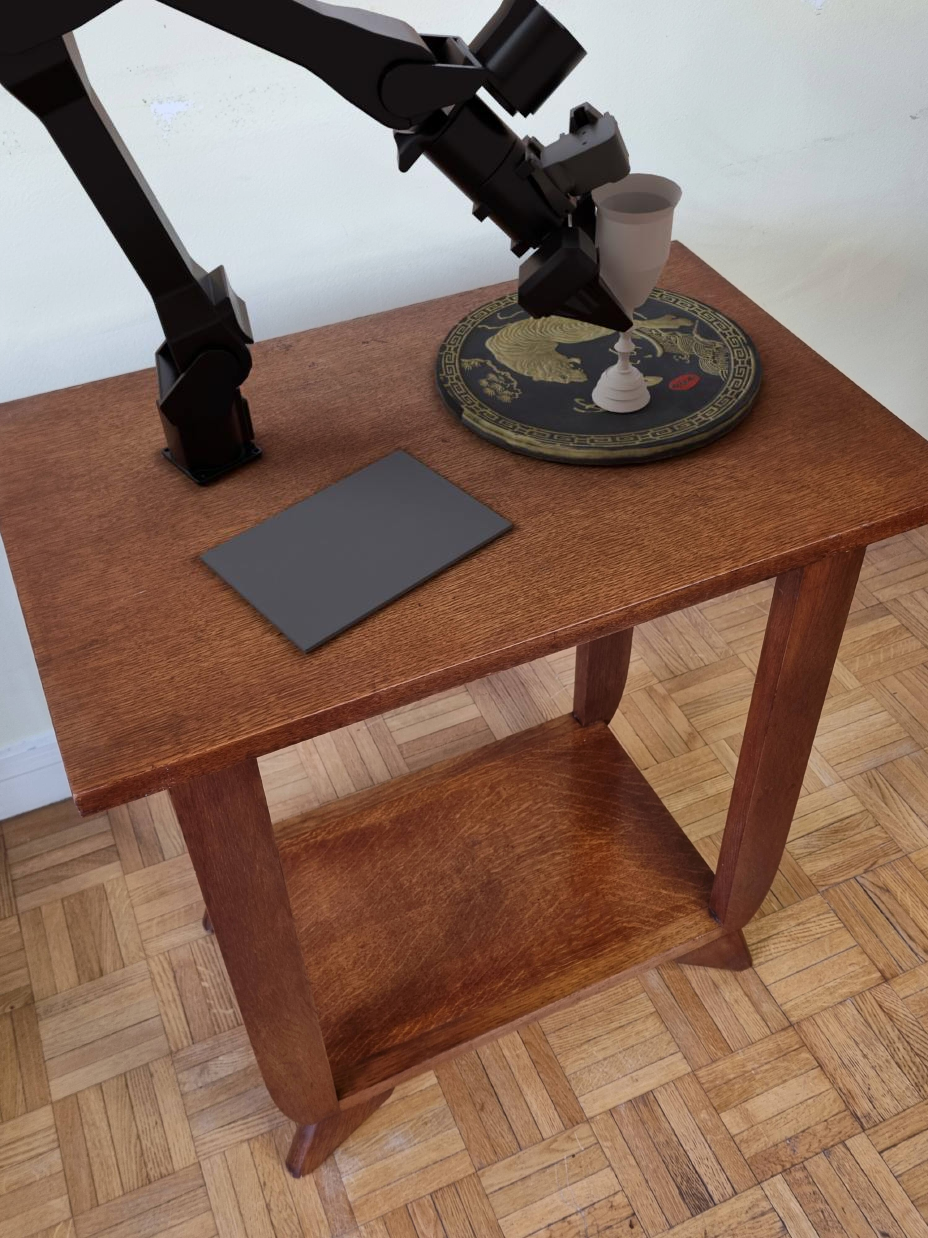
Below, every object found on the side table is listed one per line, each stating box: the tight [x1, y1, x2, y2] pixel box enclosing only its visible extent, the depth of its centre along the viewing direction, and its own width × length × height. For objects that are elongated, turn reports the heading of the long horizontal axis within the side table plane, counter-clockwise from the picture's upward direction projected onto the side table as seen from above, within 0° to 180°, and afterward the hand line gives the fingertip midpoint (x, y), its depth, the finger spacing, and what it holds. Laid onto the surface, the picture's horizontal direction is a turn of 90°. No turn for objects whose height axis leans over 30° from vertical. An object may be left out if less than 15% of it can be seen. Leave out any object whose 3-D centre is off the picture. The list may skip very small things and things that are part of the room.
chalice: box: [591, 172, 683, 412], centre depth 89 cm, size 7×7×18 cm
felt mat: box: [199, 448, 513, 654], centre depth 85 cm, size 20×14×1 cm
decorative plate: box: [434, 286, 764, 466], centre depth 101 cm, size 30×2×30 cm
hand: (626, 299), depth 89 cm, fingers open, 9 cm apart
